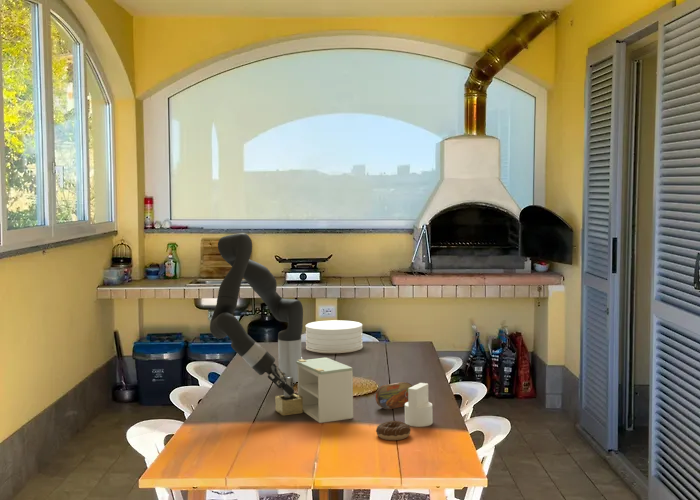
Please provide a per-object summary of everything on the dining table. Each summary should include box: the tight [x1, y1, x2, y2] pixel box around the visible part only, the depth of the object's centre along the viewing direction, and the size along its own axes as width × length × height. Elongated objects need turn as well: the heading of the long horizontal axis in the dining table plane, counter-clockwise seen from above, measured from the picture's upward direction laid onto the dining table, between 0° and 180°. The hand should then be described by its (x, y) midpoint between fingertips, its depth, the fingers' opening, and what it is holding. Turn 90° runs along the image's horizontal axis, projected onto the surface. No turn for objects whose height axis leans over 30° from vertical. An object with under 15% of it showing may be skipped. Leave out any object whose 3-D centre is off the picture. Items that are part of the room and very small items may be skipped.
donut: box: [375, 420, 411, 441], centre depth 232 cm, size 11×11×4 cm
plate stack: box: [305, 319, 364, 354], centre depth 373 cm, size 28×28×12 cm
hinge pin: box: [283, 376, 294, 400], centre depth 260 cm, size 3×3×12 cm
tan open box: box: [274, 393, 303, 416], centre depth 260 cm, size 8×7×5 cm
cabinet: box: [296, 356, 354, 424], centre depth 257 cm, size 13×20×17 cm, turn 25°
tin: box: [375, 381, 413, 410], centre depth 264 cm, size 15×3×8 cm, turn 118°
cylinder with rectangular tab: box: [404, 382, 434, 428], centre depth 245 cm, size 9×9×12 cm
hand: (292, 390), depth 260 cm, fingers open, 8 cm apart
